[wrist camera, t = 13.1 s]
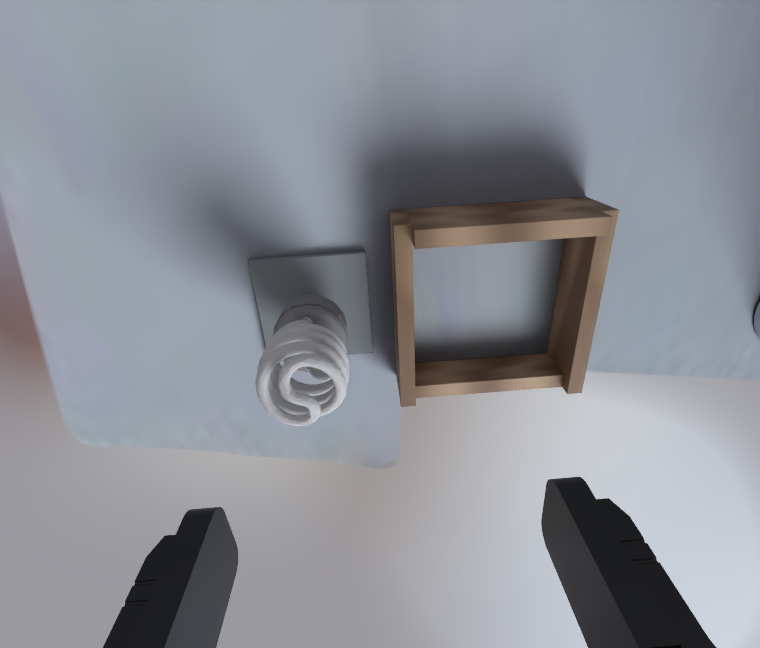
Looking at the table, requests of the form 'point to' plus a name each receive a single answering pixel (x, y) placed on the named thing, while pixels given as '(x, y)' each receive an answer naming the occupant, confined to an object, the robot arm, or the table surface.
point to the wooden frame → (501, 225)
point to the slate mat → (315, 290)
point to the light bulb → (305, 361)
